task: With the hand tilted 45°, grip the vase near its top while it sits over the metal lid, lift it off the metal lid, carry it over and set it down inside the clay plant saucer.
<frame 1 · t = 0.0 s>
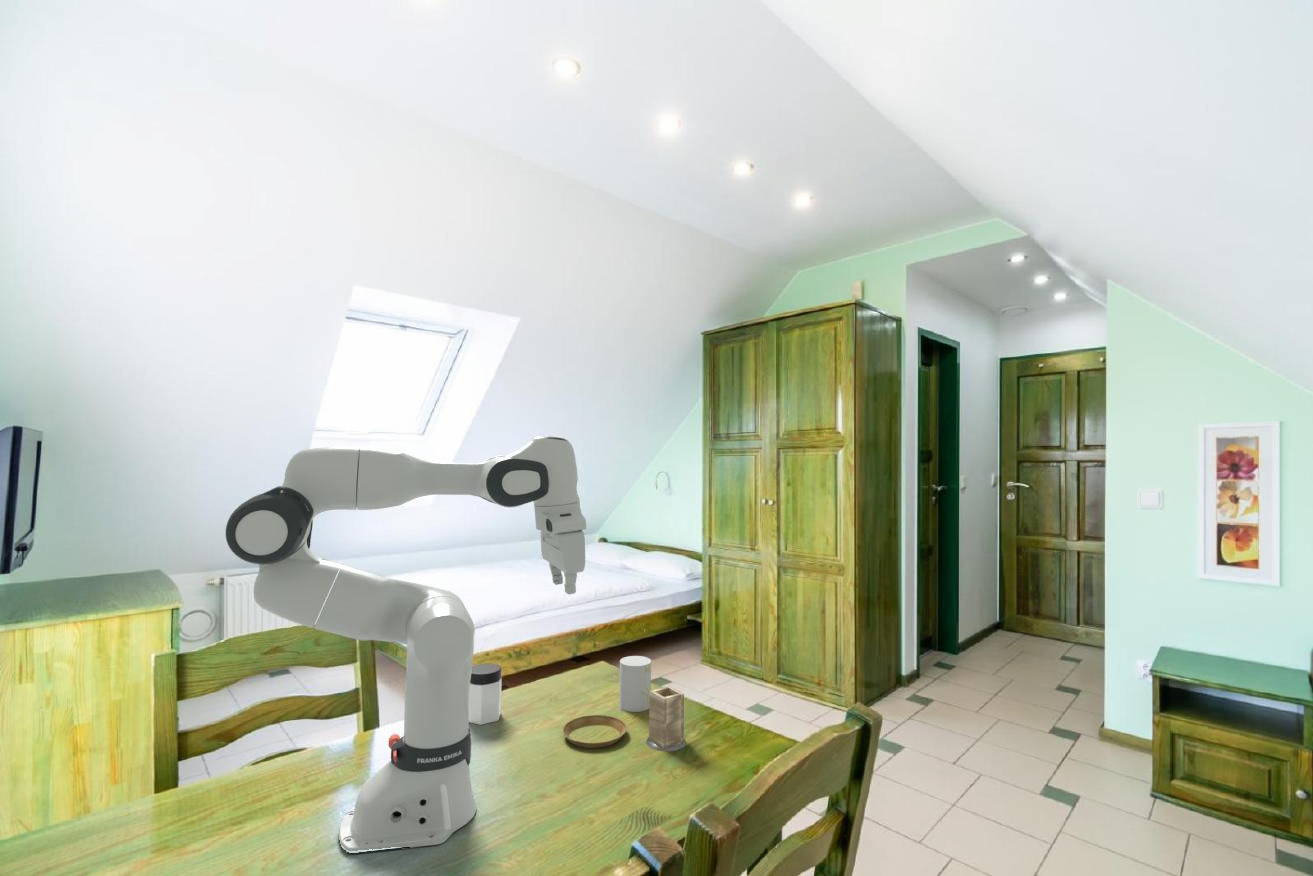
hand: (564, 588, 123), 39 cm above the table, tool pointing down, fingers open, 8 cm apart
metal lid: (666, 744, 141), on the table
plant saucer: (594, 740, 144), on the table
white cylinder: (634, 708, 162), on the table
vase: (666, 741, 141), point 1 cm above the table, touching metal lid
jar: (483, 718, 155), on the table
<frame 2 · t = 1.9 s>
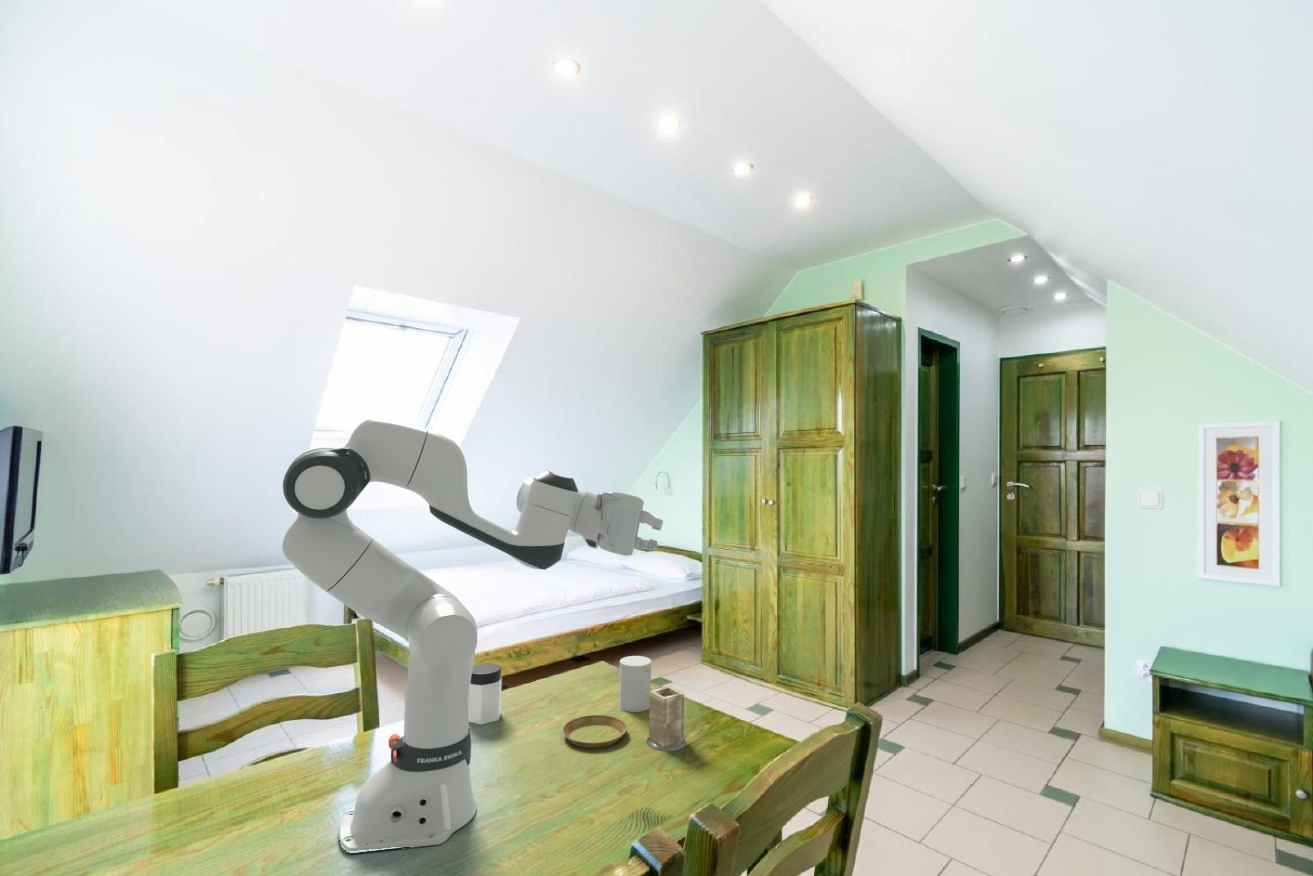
hand: (659, 536, 129), 49 cm above the table, tool tilted 75°, fingers open, 8 cm apart
nothing on the table moved.
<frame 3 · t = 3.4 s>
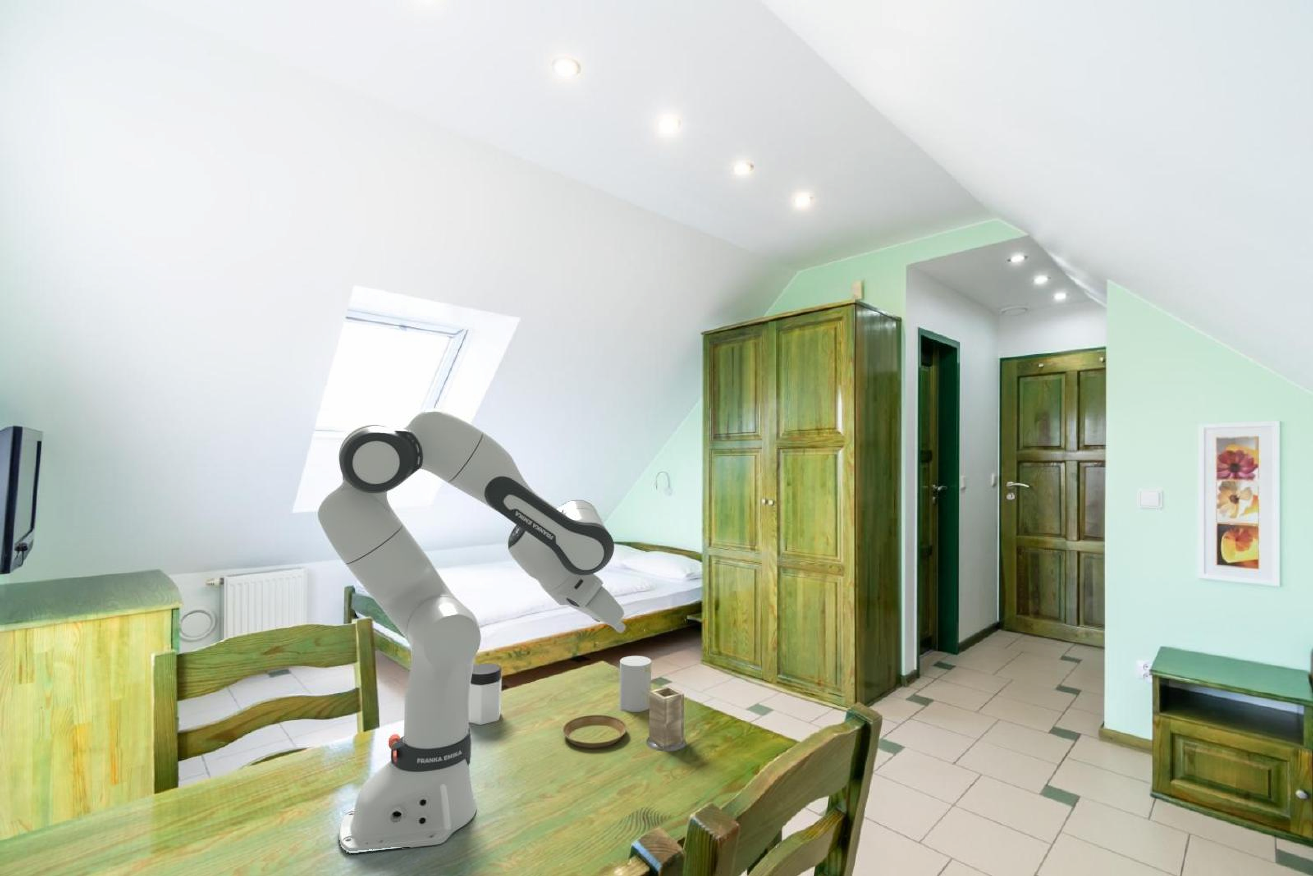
hand: (610, 624, 132), 30 cm above the table, tool tilted 45°, fingers open, 8 cm apart
nothing on the table moved.
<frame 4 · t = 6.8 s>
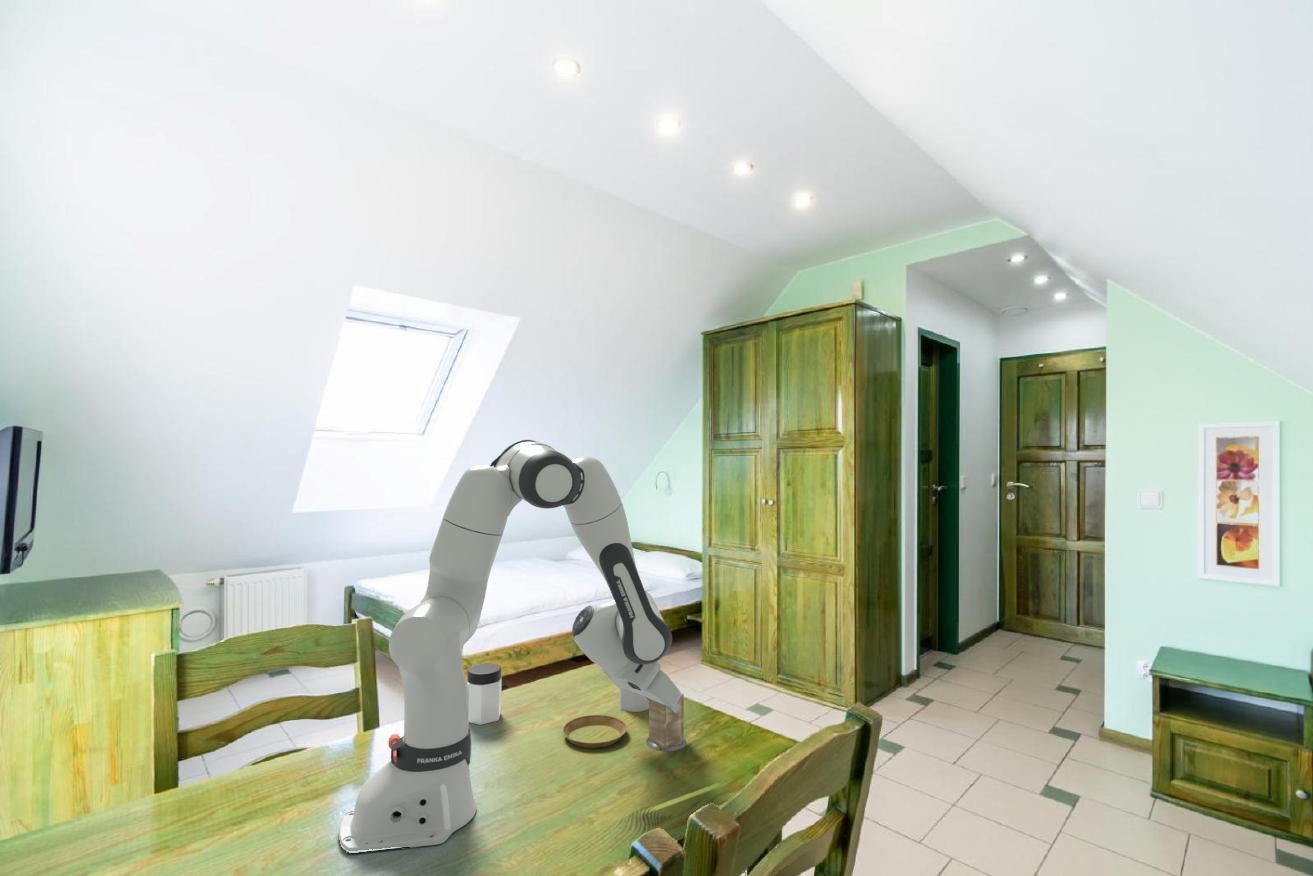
hand: (663, 704, 141), 9 cm above the table, tool tilted 45°, fingers open, 8 cm apart
nothing on the table moved.
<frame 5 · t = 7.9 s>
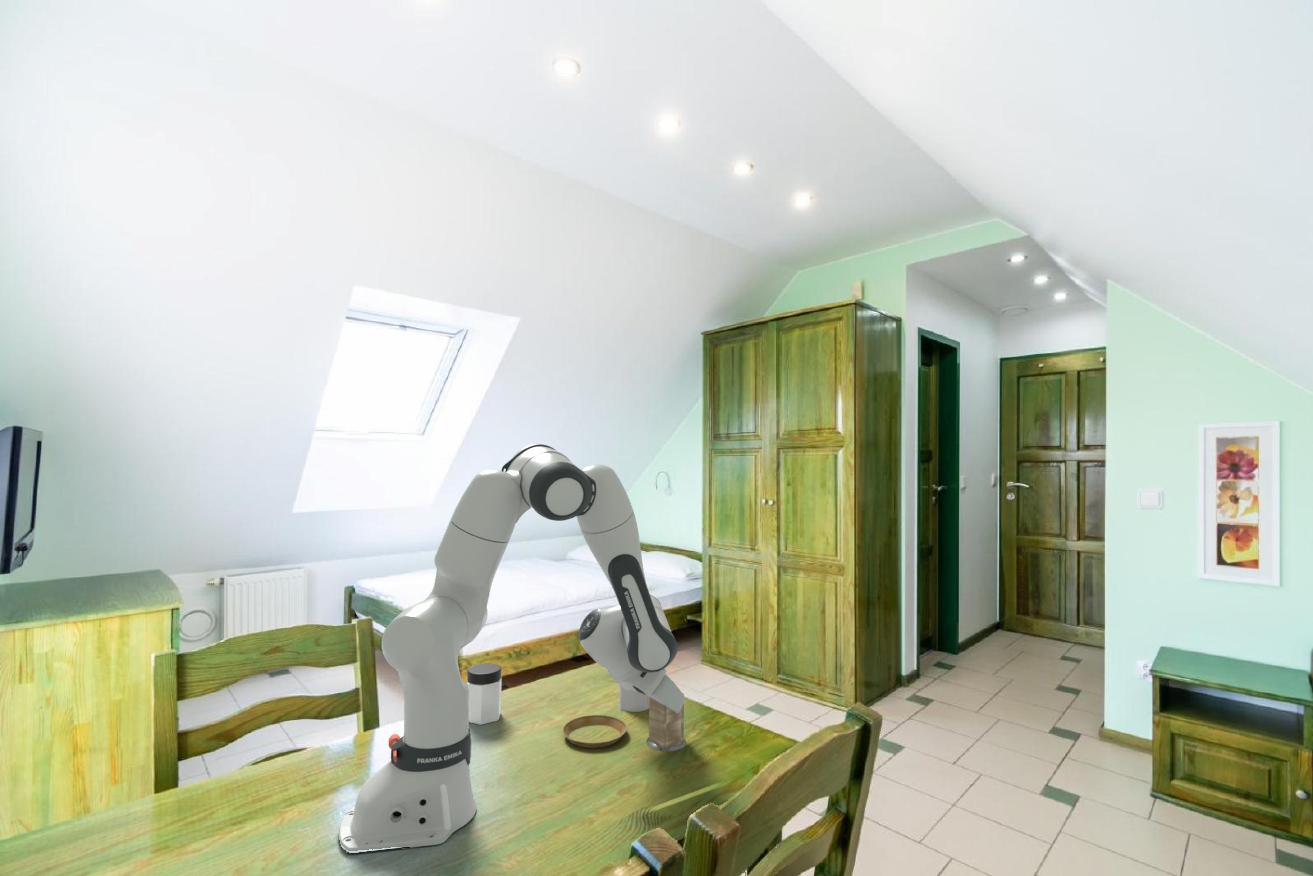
hand: (668, 704, 142), 9 cm above the table, tool tilted 45°, fingers closed on vase, 6 cm apart
vase: (666, 741, 141), point 1 cm above the table, touching gripper, metal lid
everything else where it was.
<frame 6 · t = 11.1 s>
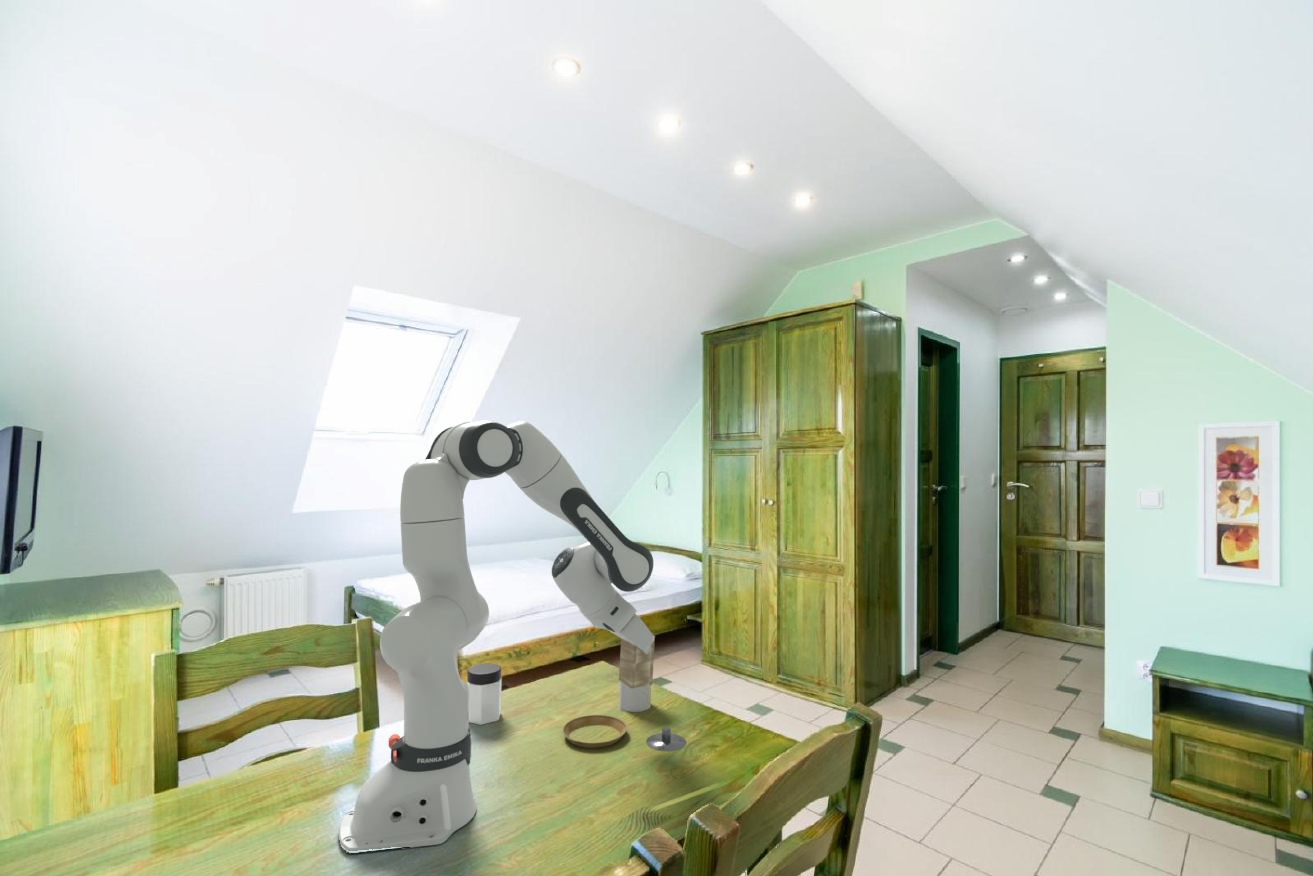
hand: (639, 646, 145), 21 cm above the table, tool tilted 45°, fingers closed on vase, 6 cm apart
vase: (635, 682, 144), point 13 cm above the table, touching gripper
everything else where it was.
when the fingers open (11 cm above the table, at t = 14.3 s): vase stays where it is, resting on plant saucer.
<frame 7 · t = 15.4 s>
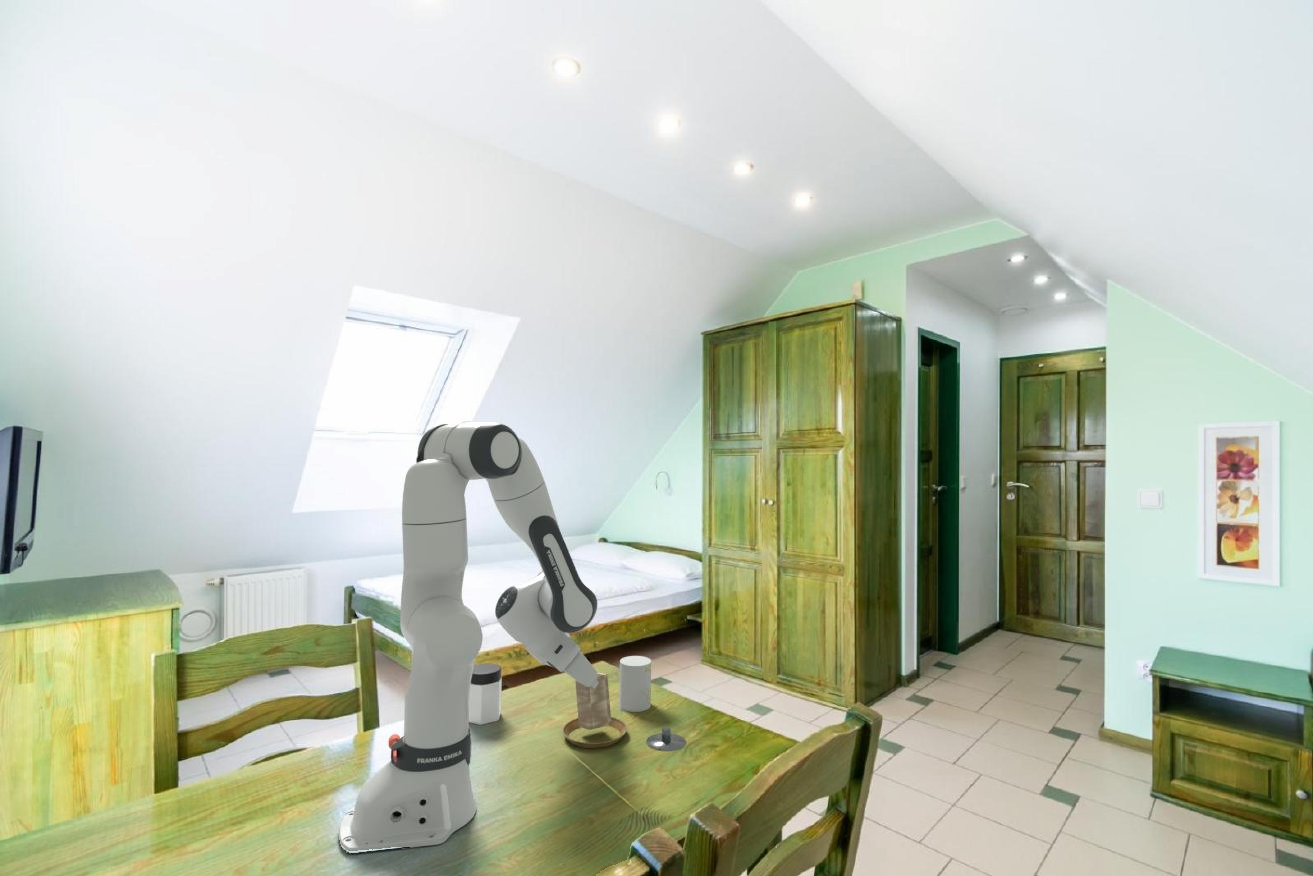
hand: (585, 676, 147), 13 cm above the table, tool tilted 45°, fingers open, 8 cm apart
plant saucer: (594, 740, 144), on the table, touching vase
vase: (595, 725, 144), point 3 cm above the table, tilted 13°, touching plant saucer
everything else where it was.
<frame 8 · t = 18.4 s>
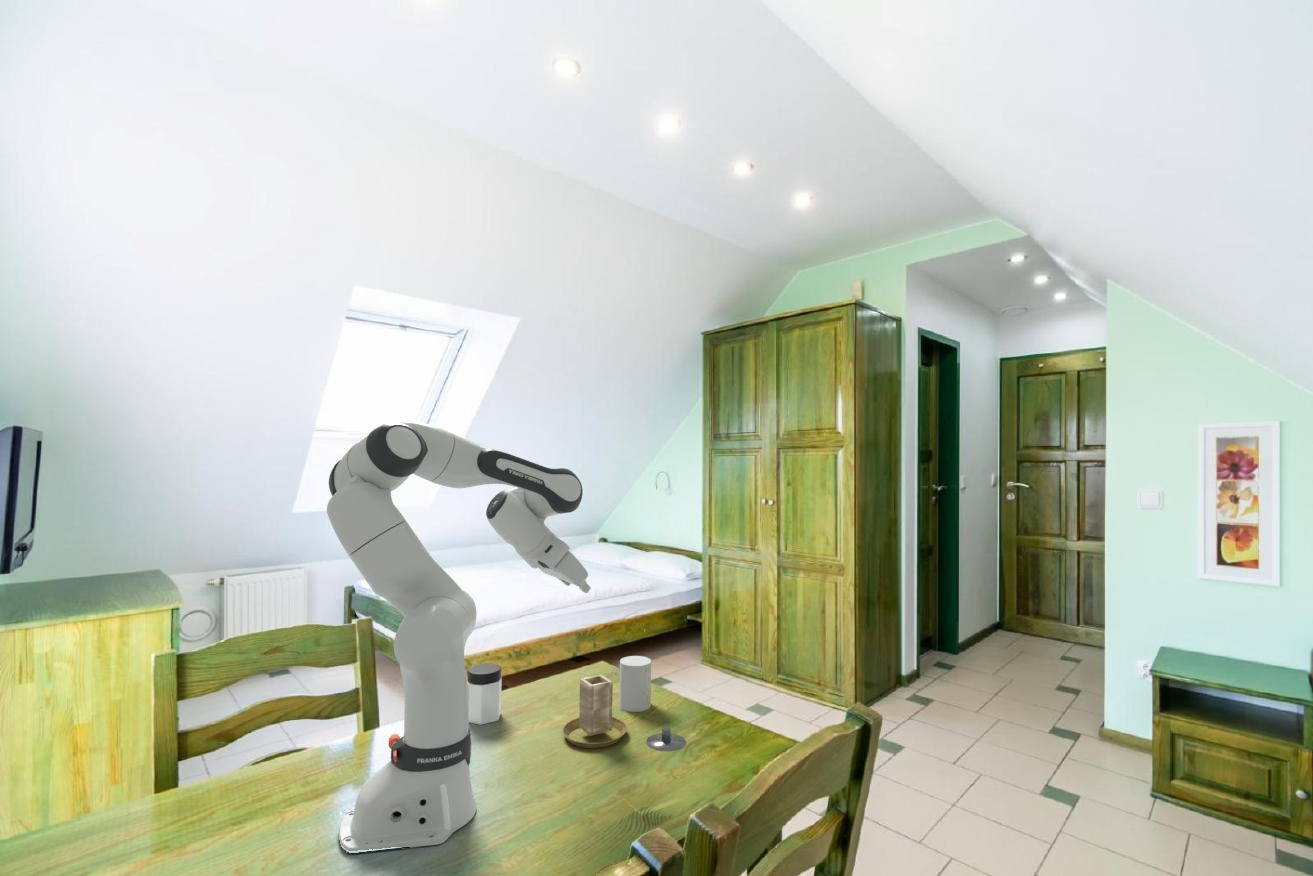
hand: (578, 586, 151), 33 cm above the table, tool tilted 45°, fingers open, 8 cm apart
plant saucer: (594, 740, 144), on the table
vase: (595, 728, 144), point 2 cm above the table
everything else where it was.
at the end: vase 0.3 cm from the plant saucer (horizontally); vase point 2.2 cm above the table; the gripper is holding nothing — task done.
